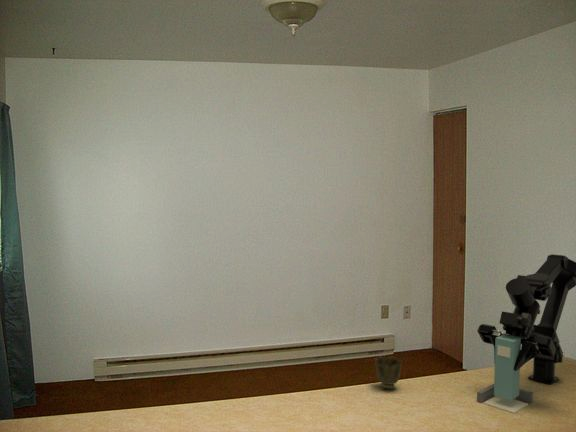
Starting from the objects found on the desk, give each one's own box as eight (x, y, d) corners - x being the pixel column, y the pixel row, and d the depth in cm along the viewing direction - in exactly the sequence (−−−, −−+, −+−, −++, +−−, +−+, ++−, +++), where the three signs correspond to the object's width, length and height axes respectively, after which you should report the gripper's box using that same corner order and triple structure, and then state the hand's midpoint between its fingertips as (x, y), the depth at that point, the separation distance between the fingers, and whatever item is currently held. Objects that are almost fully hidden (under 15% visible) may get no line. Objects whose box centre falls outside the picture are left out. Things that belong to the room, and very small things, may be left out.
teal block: (501, 390, 142) (503, 334, 141) (519, 395, 138) (521, 338, 137) (493, 395, 138) (495, 338, 137) (511, 400, 135) (513, 341, 134)
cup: (400, 383, 152) (400, 356, 152) (402, 393, 145) (403, 364, 144) (373, 382, 153) (373, 355, 152) (375, 392, 145) (375, 363, 145)
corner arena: (496, 391, 147) (496, 382, 147) (533, 401, 140) (533, 392, 140) (476, 401, 140) (477, 392, 140) (514, 413, 133) (514, 403, 133)
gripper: (481, 294, 146) (460, 342, 139) (553, 305, 133) (534, 359, 126) (493, 317, 152) (474, 365, 145) (563, 330, 139) (546, 383, 132)
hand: (505, 367), depth 137 cm, fingers closed on teal block, 5 cm apart
